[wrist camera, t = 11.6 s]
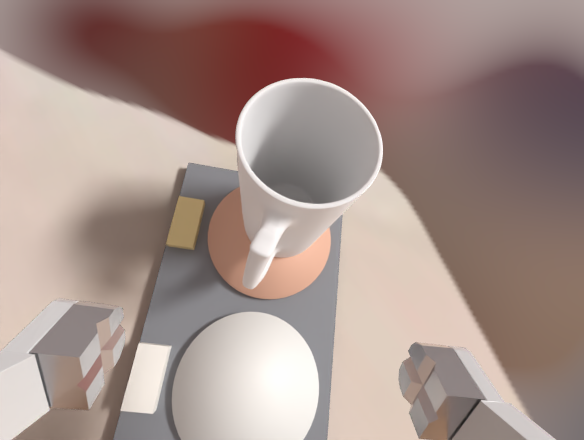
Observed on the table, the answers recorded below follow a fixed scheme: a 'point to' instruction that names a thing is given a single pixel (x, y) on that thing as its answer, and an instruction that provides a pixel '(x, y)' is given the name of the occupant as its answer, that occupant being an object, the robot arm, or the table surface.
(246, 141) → the mug
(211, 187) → the grey food tray
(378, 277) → the table surface
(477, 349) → the table surface
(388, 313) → the table surface
